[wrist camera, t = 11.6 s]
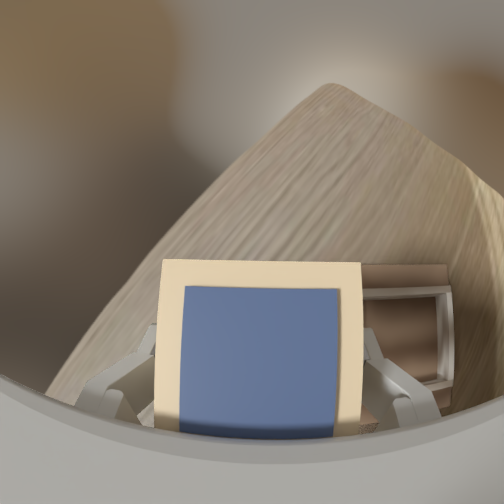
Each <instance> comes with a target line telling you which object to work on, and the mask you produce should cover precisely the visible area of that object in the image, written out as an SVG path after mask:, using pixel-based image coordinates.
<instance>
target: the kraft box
mask: <svg viewBox="0 0 504 504" xmlns="http://www.w3.org/2000/svg"><path fill="white" fill-rule="evenodd" d="M362 382H363V295H362V276H361V262H286V261H231V260H186V259H163V265H162V274H161V283H160V293H159V304H158V317H157V331H156V349H155V377H154V428H157V429H163V430H168V431H174V432H180V433H187V434H194V435H202V436H211V437H222V438H235V439H254V440H301V439H320V438H332V437H342V436H351V435H359V426H360V414H361V401H362Z"/></svg>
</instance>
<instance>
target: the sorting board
mask: <svg viewBox="0 0 504 504" xmlns="http://www.w3.org/2000/svg"><path fill="white" fill-rule="evenodd" d="M361 276H362V295H363V328H372V329H373V332H374V334H375V337H376V339H377V342H378V344H379V347H380V349H381V352H382V355H383V357H384V359H385V358H388V359H389V360H390V361H392V362H393V363H394V364H396V365H397V366H398V367H400V368H401V369H402V370H404V371H405V372H406V373H408V374H409V375H410V376H412V377H413V378H414V379H416V380H417V381H418V382H420V383H421V384H423V385H424V386H425V387H427V388H428V389H429V390H431V391H432V394H433V396H434V399H435V401H436V404H437V406H438V409H441V408H444V407H448V406H450V400H451V387H452V386H453V379H454V319H453V304H452V292H451V285H450V286H449V278H448V270H447V264H429V265H361ZM377 422H379V421H378V420H377V419H376V418H375V417H374V416H373V415H372V414H371V413H370V412H369V410H368V409H367V408H366V407H365V406H364V405H363V404H362V403H361V414H360V425H364V424H371V423H377Z"/></svg>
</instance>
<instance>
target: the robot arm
mask: <svg viewBox="0 0 504 504" xmlns="http://www.w3.org/2000/svg"><path fill="white" fill-rule="evenodd" d="M156 331H157V324H156V323H152V324H151V325H150V326H149V328H148V330H147V332H146V334H145V336H144V338H143V340H142V342H141V344H140V346H139V348H138V350H137V353H136V352H132V353H131V354H129V355H128V356H126V357H125V358H123V359H121V360H120V361H118V362H117V363H115V364H114V365H112V366H111V367H109V368H107V369H106V370H104V371H103V372H101V373H99V374H98V375H96V376H95V377H93V378H92V379H90V380H88V381H87V382H86V384H85V386H84V388H83V390H82V392H81V394H80V396H79V398H78V399H77V401H76V403H75V405H74V406H72V405H70V404H67V403H64V402H62V401H59V400H56V399H54V398H51V397H49V396H46V395H44V394H41V393H39V392H37V391H35V390H32V389H30V388H28V387H26V386H23V385H21V384H19V383H17V382H15V381H13V380H11V379H9V378H7V377H5V376H3V375H1V374H0V504H504V395H502V396H499V397H497V398H495V399H492V400H490V401H487V402H485V403H482V404H480V405H477V406H474V407H471V408H469V409H466V410H463V411H460V412H457V413H454V414H450V415H447V416H444V417H441V414H440V411H439V409H438V406H437V404H436V401H435V399H434V396H433V394H432V391H431V390H429V389H428V388H427V387H425V386H424V385H423V384H421V383H420V382H418V381H417V380H416V379H414V378H413V377H412V376H410V375H409V374H408V373H406V372H405V371H404V370H402V369H401V368H400V367H398V366H397V365H396V364H394V363H393V362H392V361H390V360H389V359H388V358H385V359H384V357H383V355H382V352H381V349H380V347H379V344H378V342H377V339H376V337H375V334H374V332H373V329H372V328H363V382H362V401H361V403H362V404H363V405H364V406H365V407H366V408H367V409H368V410H369V412H370V413H371V414H372V415H373V416H374V417H375V418H376V419H377V420H378V421H379V422H380V423H379V424H378V426H377V427H376V429H375V430H374V431H373V433H366V434H359V435H351V436H342V437H332V438H320V439H301V440H254V439H235V438H222V437H211V436H202V435H194V434H187V433H180V432H174V431H168V430H163V429H157V428H152V427H147V426H143V425H142V424H141V423H140V421H139V420H138V418H137V415H138V414H139V413H140V412H141V411H142V410H143V409H144V408H145V407H146V406H148V405H149V404H150V403H151V402H152V401H153V400H154V377H155V349H156Z"/></svg>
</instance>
